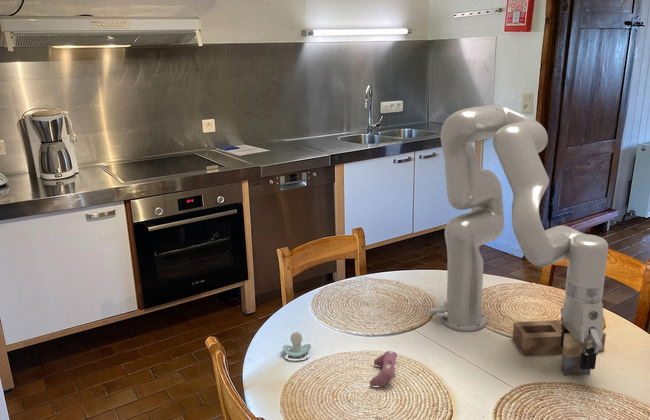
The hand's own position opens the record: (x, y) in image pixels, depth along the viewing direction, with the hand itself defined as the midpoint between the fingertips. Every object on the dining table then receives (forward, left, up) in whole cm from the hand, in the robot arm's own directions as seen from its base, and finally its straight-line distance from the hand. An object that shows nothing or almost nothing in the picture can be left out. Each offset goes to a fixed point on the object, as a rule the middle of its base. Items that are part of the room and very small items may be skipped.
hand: (577, 356), depth 122 cm
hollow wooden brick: (+1, +12, -4) cm, 13 cm away
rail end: (0, 0, -4) cm, 4 cm away
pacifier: (-66, +13, -5) cm, 67 cm away
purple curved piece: (-45, +2, -5) cm, 45 cm away
